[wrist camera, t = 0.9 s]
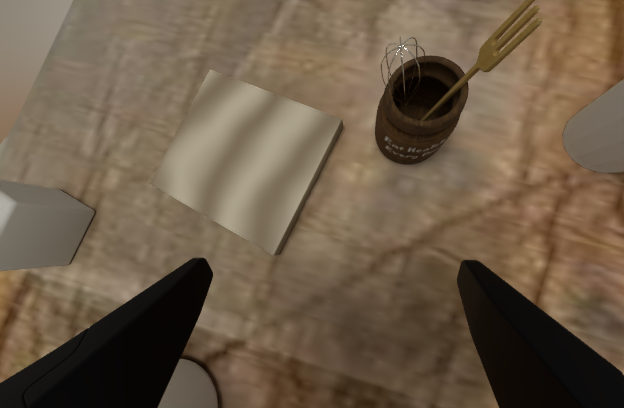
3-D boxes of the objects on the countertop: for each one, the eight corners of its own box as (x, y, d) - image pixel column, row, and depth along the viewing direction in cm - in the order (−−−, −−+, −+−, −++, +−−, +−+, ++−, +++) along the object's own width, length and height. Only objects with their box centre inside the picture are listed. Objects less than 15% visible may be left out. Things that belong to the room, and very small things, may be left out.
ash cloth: (343, 126, 24) (342, 119, 22) (279, 254, 23) (273, 255, 22) (218, 78, 28) (210, 69, 26) (161, 186, 27) (149, 183, 26)
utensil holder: (371, 109, 23) (379, -18, 12) (442, 100, 22) (528, -53, 11) (376, 168, 23) (389, 94, 11) (449, 162, 21) (552, 70, 10)
